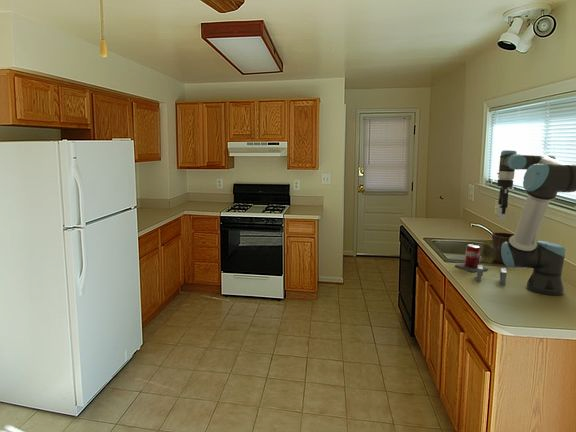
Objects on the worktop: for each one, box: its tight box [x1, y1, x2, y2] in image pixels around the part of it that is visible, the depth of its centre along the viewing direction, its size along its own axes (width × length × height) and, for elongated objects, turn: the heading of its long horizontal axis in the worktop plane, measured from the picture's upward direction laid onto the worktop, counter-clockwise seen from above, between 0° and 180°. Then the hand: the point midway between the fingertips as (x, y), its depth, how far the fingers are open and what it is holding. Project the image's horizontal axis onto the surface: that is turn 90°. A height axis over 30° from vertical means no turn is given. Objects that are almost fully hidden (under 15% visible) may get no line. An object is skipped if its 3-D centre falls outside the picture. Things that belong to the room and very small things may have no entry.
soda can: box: [464, 244, 482, 268], centre depth 228 cm, size 7×7×12 cm
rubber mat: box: [454, 263, 489, 274], centre depth 229 cm, size 12×12×1 cm
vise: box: [476, 264, 508, 286], centre depth 208 cm, size 8×13×6 cm, turn 65°
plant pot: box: [491, 232, 515, 264], centre depth 244 cm, size 15×15×16 cm
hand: (500, 218), depth 225 cm, fingers open, 13 cm apart
